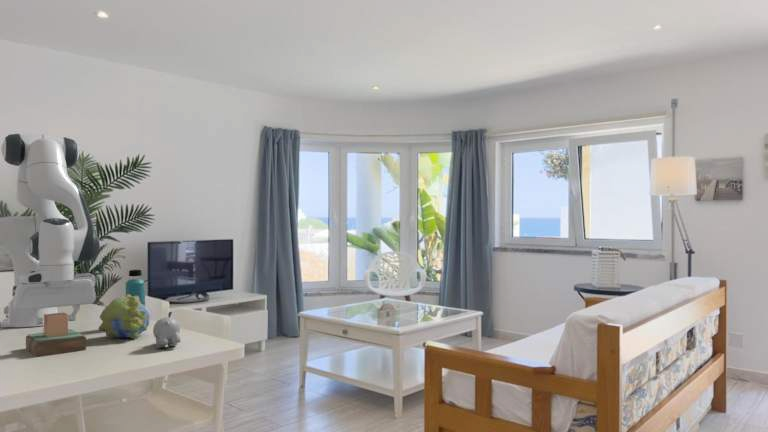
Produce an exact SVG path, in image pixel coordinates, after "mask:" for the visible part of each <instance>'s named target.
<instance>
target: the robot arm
mask: <svg viewBox="0 0 768 432" xmlns="http://www.w3.org/2000/svg"><path fill="white" fill-rule="evenodd" d="M0 150H1V155H2V157H3V159H4V162H6V163H7V164H9V165H10V166H16V167H18V169H17V171H18V172H17V180H16V181H17V183H16V185H17V186H16V199H17V201H18V203H19V204H20V205H21V206H23V207H24V208H27V209H29V210H32V211H34V212H35V213H36V215H33V216H31V215H29V216H28V215H26V216H25V215H24V216H23V215H21V216H20V215H16V216H15V215H14V216H4V217H0V248H1V249H2V250H3V251H4V252H5V253H6V254H7V255H8V257H9V258H10V260H11V262H12V266H13V277H14V278H13V279H14V285H13V286H12V293H11V294H12V299H11V300H10V301H9V302H8V305H6V306H5V307H4V308H3V314H4V315H5V318H3V319H2V321H1V324H0V328H30V327H40V326H41V327H42V326H44V314H51V313H58V308H60V307H72V309H73V311H72V313H71V314H68V322H75V321H76V315H77V314H78V313H79V311H80V309H81V305H91V304H94V303H95V301H96V291H95V289H96V288H95V285H96V276H95V275H94V274H92V273H90V272H85V273H78V272H77V273H75V271H74V270H75V262H82V263H83V262H85V263H86V262H87V263H88V262H91V261H93V260H94V259H95V258H96V257H97V256H98V255H99V254H100V251H101V241H100V238H99V235H98V232H97V231H96V228H95V226H94V223H93V220H92V217H91V214H90V211H89V207H88V204H87V200H86V198H85V195H84V193H83V191H82V188H81V187H80V186H79V185H78V184H76V183H74V182H73V181H72V180H71V178H70V176H69V175H68V168H72V167H74V166H75V165H76V164H77V163H78V160H79V156H80V150H79V147H78V143H77V142H76V141H75V140H74V139H71V138H69V137H59V136H54V135H48V134H20V133H12V134H8V135H7V136H5V137H4V140H3V142H2V144H1V148H0ZM56 203H58V204H60V205H63V206H65V207H67V208H68V209H70V210H71V212H72V215H73V218H74V221H75V225H76V228H77V229H75V228H74V225H73V223H72V221H71V220H70V219H69V218H66V217H65V215H63V214H62V213H61V212H60V210H59V209H58V208H57V205H56Z"/></svg>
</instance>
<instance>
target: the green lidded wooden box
mask: <svg viewBox="0 0 768 432" xmlns="http://www.w3.org/2000/svg"><path fill="white" fill-rule="evenodd" d="M86 348H87V336H85V335H84V334H81V333H79V332H77V331H76V330H74V329H70V328H69V329H68V335H65V336H57V337H49V338H48V337H46V336H44V332H40V333H39V332H38V333H30V334H29V333H28V334H27V335H26V336H25V349H26V350H27V351H29V352H30V353H32V354H33V355H34V356H35V357H45V356H51V355H58V354H64V353H72V352H79V351H85V350H87V349H86Z"/></svg>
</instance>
